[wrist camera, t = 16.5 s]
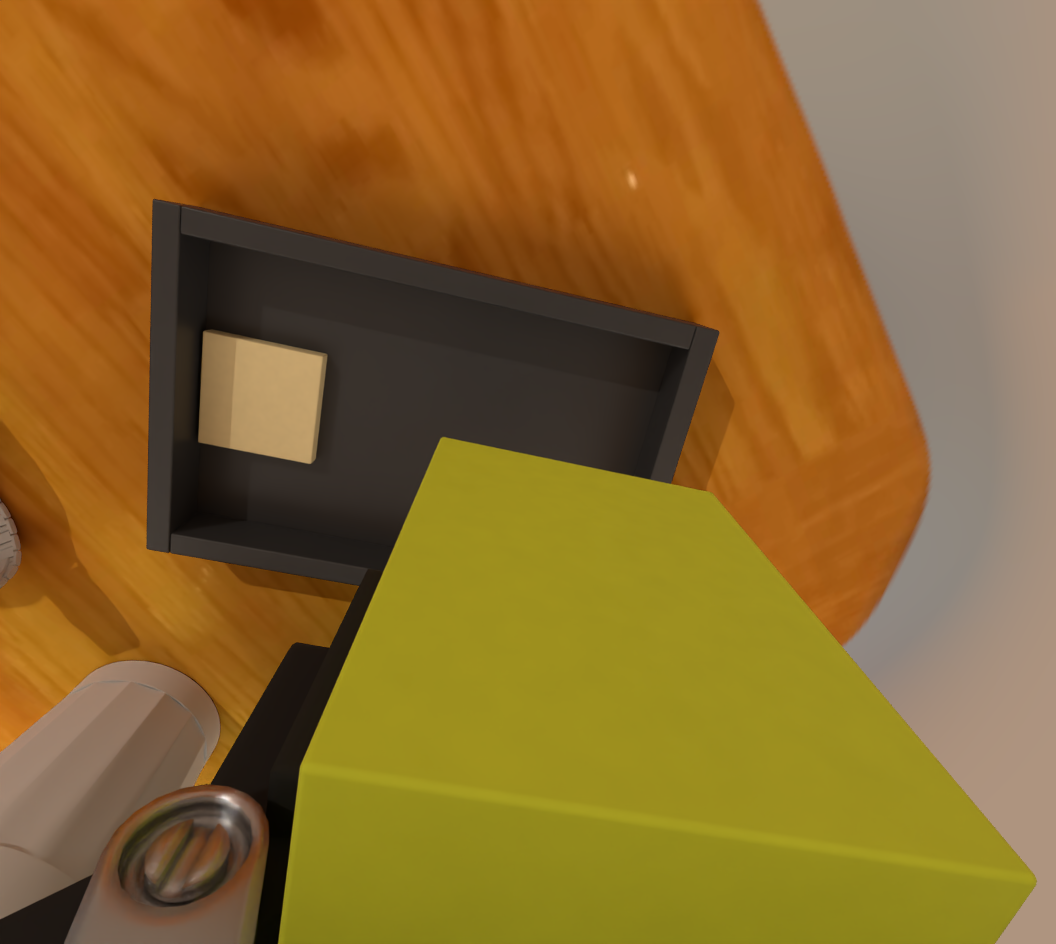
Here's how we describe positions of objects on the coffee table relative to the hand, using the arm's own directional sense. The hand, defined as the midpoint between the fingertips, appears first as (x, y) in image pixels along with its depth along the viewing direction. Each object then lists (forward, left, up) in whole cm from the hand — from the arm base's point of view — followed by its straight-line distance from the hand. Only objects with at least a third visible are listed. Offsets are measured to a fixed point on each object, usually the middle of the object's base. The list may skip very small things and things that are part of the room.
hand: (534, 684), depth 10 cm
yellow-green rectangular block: (0, 0, -1) cm, 1 cm away
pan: (+3, 0, -14) cm, 14 cm away
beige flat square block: (+9, 0, -13) cm, 16 cm away
